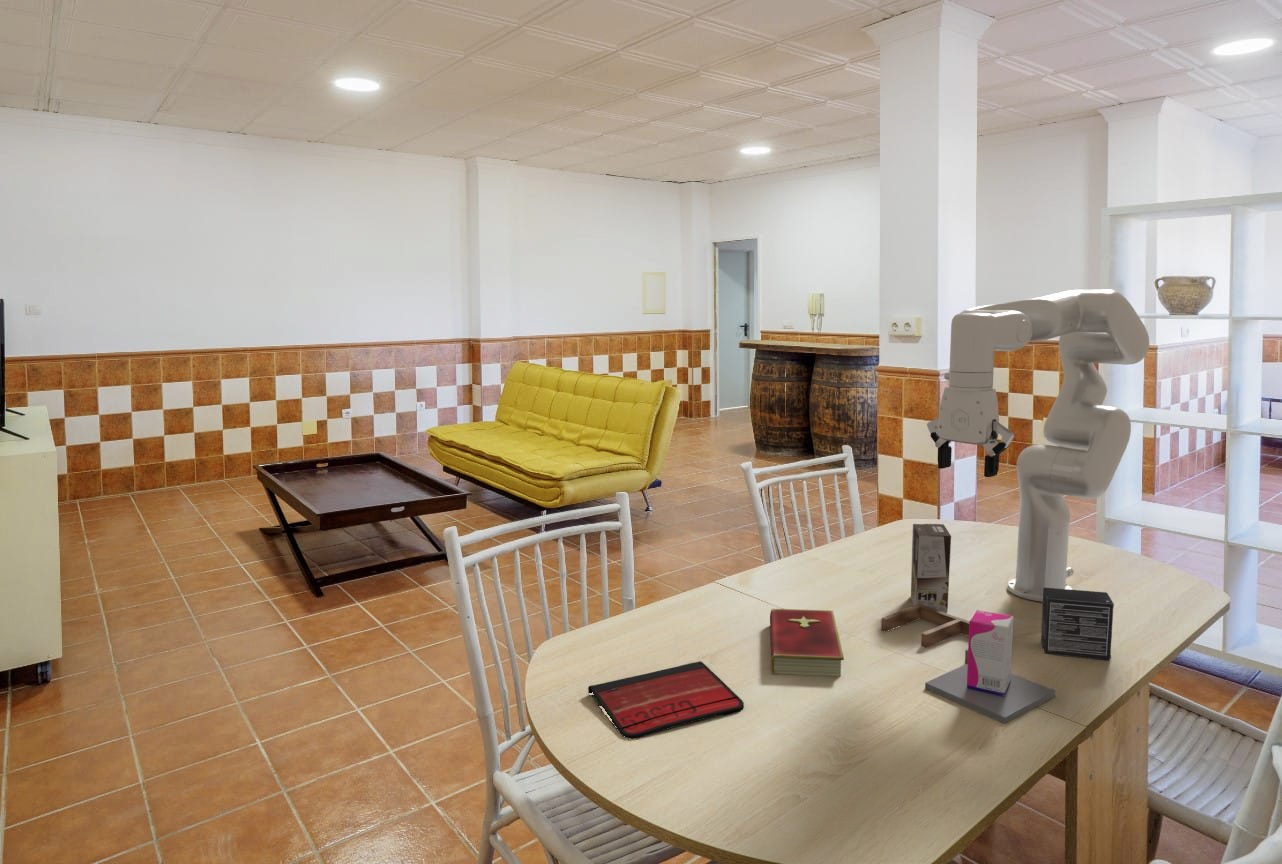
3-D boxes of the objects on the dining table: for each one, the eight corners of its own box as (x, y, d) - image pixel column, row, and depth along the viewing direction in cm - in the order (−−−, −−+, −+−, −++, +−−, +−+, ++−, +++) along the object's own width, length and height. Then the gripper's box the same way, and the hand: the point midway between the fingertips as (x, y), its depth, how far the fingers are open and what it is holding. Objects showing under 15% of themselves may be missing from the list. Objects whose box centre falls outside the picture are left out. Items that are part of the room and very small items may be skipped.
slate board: (975, 665, 143) (976, 659, 143) (1055, 696, 131) (1055, 690, 131) (925, 688, 135) (925, 682, 135) (1004, 723, 123) (1005, 717, 123)
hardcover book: (771, 676, 141) (771, 653, 140) (769, 627, 162) (769, 607, 161) (843, 679, 139) (843, 656, 139) (832, 629, 160) (832, 609, 159)
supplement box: (1011, 682, 134) (1014, 615, 132) (1004, 697, 129) (1008, 628, 127) (973, 673, 137) (976, 608, 135) (965, 688, 132) (968, 620, 131)
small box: (1104, 646, 149) (1108, 590, 147) (1111, 661, 143) (1115, 604, 141) (1039, 639, 152) (1042, 585, 151) (1043, 654, 146) (1047, 597, 145)
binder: (587, 684, 135) (700, 658, 144) (587, 697, 136) (700, 671, 144) (626, 734, 121) (749, 703, 129) (626, 749, 121) (749, 716, 130)
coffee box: (948, 614, 165) (952, 536, 162) (915, 612, 166) (917, 535, 164) (941, 597, 174) (944, 523, 171) (909, 595, 175) (912, 522, 172)
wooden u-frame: (919, 615, 164) (919, 603, 164) (1008, 648, 149) (1008, 635, 149) (881, 630, 158) (881, 617, 158) (969, 665, 143) (970, 651, 142)
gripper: (918, 379, 157) (915, 467, 159) (1002, 386, 143) (998, 483, 145) (942, 375, 161) (939, 462, 164) (1027, 382, 147) (1021, 476, 150)
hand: (966, 471), depth 155 cm, fingers open, 9 cm apart
